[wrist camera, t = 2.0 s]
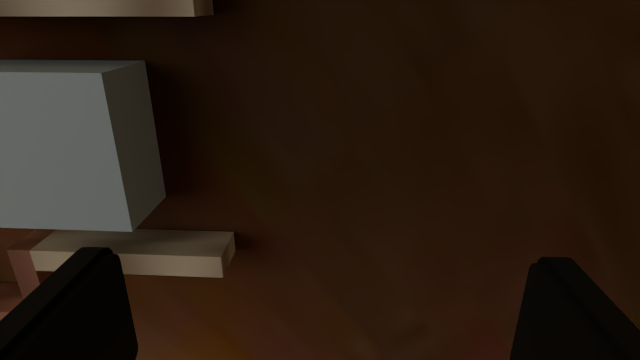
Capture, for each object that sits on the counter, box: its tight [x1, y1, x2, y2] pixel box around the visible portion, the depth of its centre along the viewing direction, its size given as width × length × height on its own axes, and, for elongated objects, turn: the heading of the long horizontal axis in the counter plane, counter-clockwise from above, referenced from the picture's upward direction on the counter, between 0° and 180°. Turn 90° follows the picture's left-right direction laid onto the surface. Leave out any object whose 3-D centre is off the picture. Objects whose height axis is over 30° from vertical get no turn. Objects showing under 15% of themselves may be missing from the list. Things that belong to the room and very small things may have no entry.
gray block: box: [0, 60, 166, 232], centre depth 20 cm, size 7×7×4 cm
